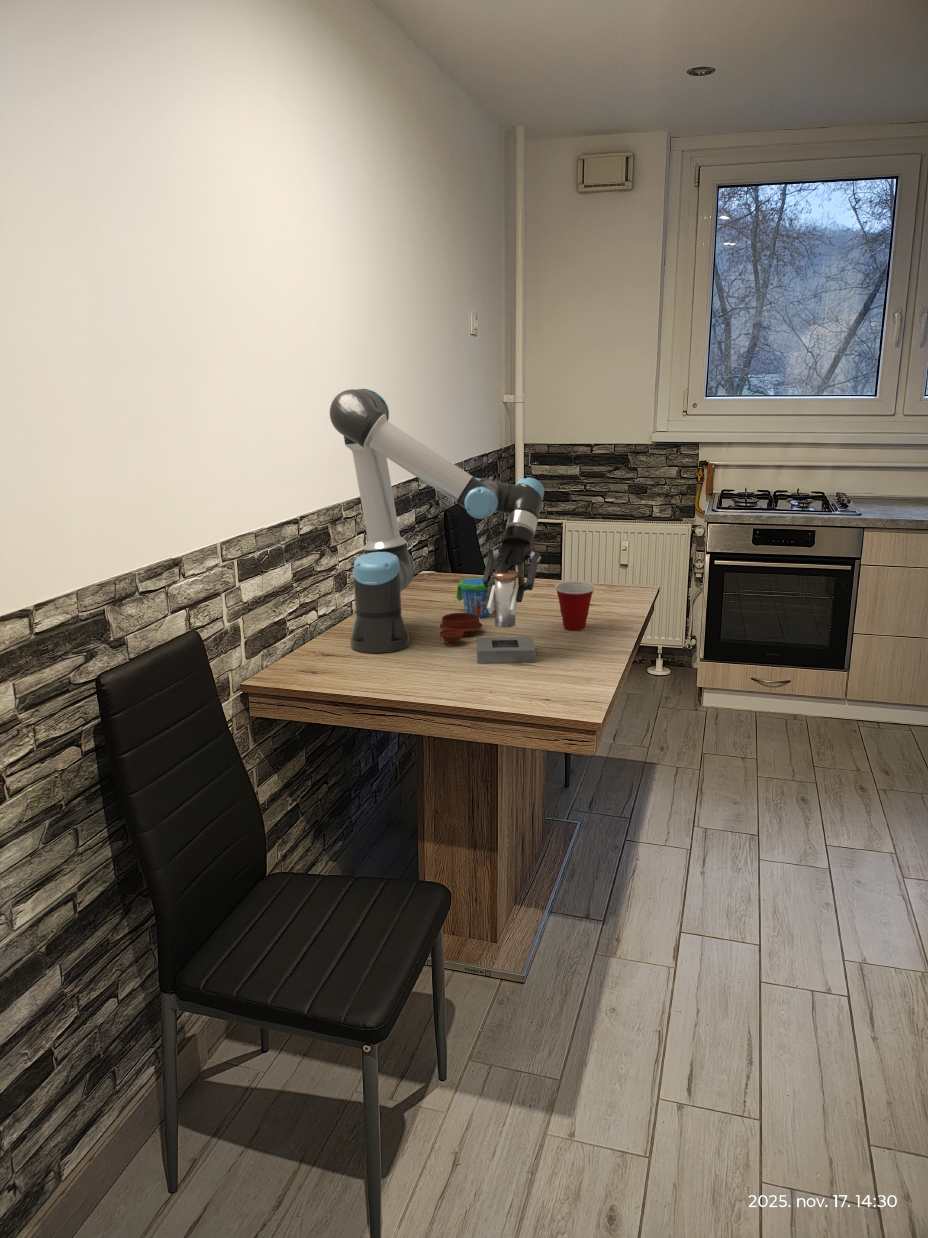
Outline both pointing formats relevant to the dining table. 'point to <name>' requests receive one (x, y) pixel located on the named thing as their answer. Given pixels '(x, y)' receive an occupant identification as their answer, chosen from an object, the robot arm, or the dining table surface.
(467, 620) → the pottery
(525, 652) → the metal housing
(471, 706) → the dining table surface
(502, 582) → the silver copper-capped cylinder
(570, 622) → the plastic cup
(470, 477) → the robot arm
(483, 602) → the snack cup
